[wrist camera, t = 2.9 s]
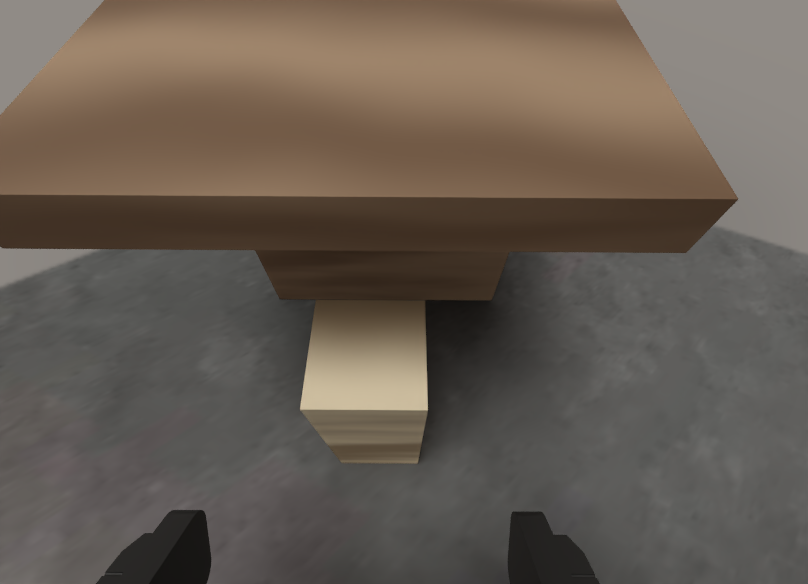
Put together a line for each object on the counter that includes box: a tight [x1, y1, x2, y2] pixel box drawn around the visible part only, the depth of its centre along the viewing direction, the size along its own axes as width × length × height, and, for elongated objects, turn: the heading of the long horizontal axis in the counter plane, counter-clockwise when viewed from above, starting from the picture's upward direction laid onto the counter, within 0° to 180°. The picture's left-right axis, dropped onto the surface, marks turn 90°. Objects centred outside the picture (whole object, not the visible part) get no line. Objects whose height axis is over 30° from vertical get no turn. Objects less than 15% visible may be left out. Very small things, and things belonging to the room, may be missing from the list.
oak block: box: [300, 300, 428, 464], centre depth 18 cm, size 4×4×10 cm
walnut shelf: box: [0, 0, 738, 300], centre depth 18 cm, size 14×14×18 cm
